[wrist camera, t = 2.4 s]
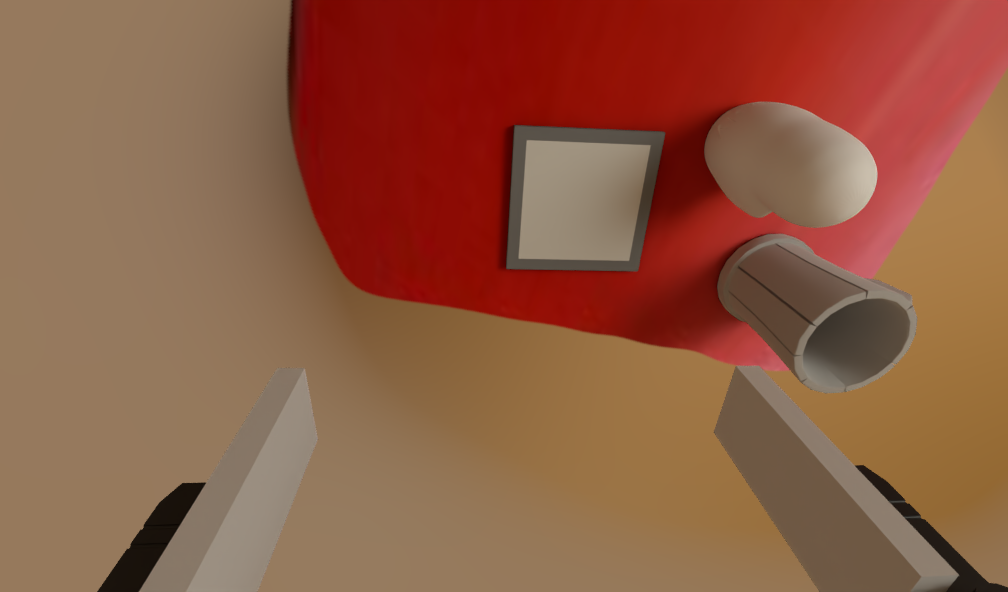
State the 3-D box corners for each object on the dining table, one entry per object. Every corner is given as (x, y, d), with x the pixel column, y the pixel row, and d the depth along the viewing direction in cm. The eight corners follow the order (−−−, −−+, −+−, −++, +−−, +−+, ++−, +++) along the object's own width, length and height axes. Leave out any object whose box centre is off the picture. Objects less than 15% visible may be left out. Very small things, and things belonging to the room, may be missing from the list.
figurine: (720, 208, 40) (811, 262, 30) (683, 135, 37) (770, 166, 27) (797, 159, 39) (922, 197, 28) (765, 78, 36) (892, 86, 25)
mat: (513, 124, 36) (514, 126, 35) (662, 131, 37) (665, 132, 36) (506, 266, 41) (506, 268, 41) (635, 268, 42) (637, 271, 42)
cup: (794, 198, 40) (911, 248, 30) (840, 263, 44) (961, 328, 33) (696, 278, 43) (771, 349, 33) (746, 333, 47) (829, 414, 36)
